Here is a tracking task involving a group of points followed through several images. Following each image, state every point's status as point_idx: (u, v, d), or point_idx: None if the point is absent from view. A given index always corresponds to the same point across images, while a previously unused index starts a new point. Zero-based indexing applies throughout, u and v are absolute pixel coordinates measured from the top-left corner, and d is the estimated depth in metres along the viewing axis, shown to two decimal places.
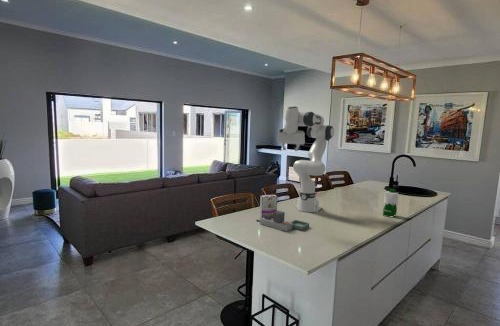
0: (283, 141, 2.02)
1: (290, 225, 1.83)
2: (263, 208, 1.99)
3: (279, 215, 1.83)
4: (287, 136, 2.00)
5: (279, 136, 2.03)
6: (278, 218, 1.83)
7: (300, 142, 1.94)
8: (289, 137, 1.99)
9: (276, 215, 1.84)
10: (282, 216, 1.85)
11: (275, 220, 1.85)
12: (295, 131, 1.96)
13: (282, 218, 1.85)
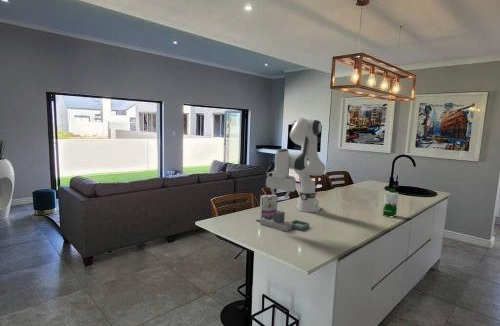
0: (272, 186, 1.85)
1: (290, 225, 1.83)
2: (263, 208, 1.99)
3: (279, 215, 1.83)
4: (277, 181, 1.83)
5: (268, 180, 1.87)
6: (278, 218, 1.83)
7: (290, 189, 1.77)
8: (279, 182, 1.82)
9: (276, 215, 1.84)
10: (282, 216, 1.85)
11: (275, 220, 1.85)
12: (285, 176, 1.79)
13: (282, 218, 1.85)
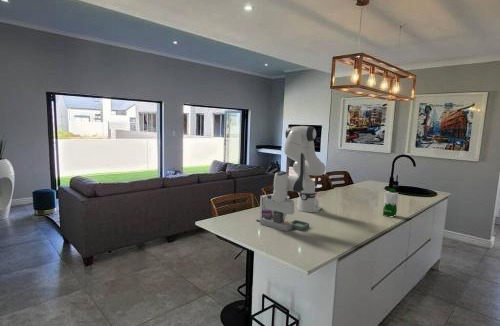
0: (271, 208, 1.87)
1: (290, 225, 1.83)
2: (263, 208, 1.99)
3: (279, 215, 1.83)
4: (276, 203, 1.85)
5: (267, 202, 1.88)
6: (278, 218, 1.83)
7: (289, 212, 1.79)
8: (278, 205, 1.84)
9: (276, 215, 1.84)
10: (282, 216, 1.85)
11: (275, 220, 1.85)
12: (284, 199, 1.81)
13: None
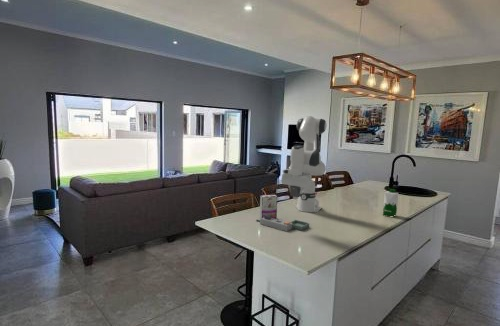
0: (288, 183, 1.86)
1: (290, 225, 1.83)
2: (263, 208, 1.99)
3: (296, 189, 1.82)
4: (292, 178, 1.84)
5: (284, 177, 1.88)
6: (295, 192, 1.83)
7: (307, 186, 1.78)
8: (294, 179, 1.83)
9: (293, 189, 1.84)
10: (299, 190, 1.84)
11: (292, 194, 1.84)
12: (301, 173, 1.80)
13: None
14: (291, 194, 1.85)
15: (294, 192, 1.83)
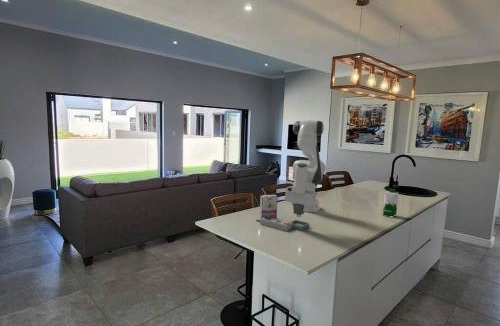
0: (291, 200, 1.87)
1: (290, 225, 1.83)
2: (263, 208, 1.99)
3: (299, 207, 1.83)
4: (296, 195, 1.85)
5: (287, 194, 1.89)
6: (298, 210, 1.84)
7: (310, 204, 1.79)
8: (298, 197, 1.84)
9: (296, 207, 1.84)
10: (302, 208, 1.85)
11: (295, 212, 1.85)
12: (305, 191, 1.82)
13: None
14: (294, 212, 1.86)
15: (298, 210, 1.84)
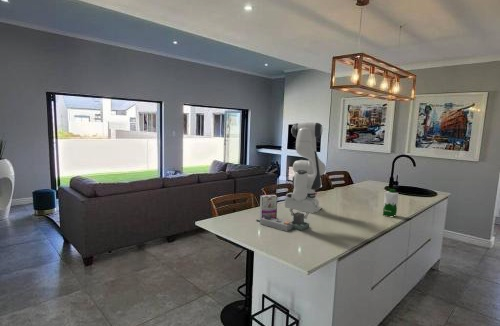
0: (291, 206, 1.88)
1: (290, 225, 1.83)
2: (263, 208, 1.99)
3: (299, 217, 1.84)
4: (296, 202, 1.86)
5: (287, 201, 1.89)
6: (298, 220, 1.85)
7: (310, 210, 1.80)
8: (298, 203, 1.85)
9: (296, 217, 1.85)
10: (302, 218, 1.86)
11: (295, 222, 1.86)
12: (304, 198, 1.82)
13: (302, 220, 1.86)
14: (294, 221, 1.87)
15: (297, 219, 1.85)
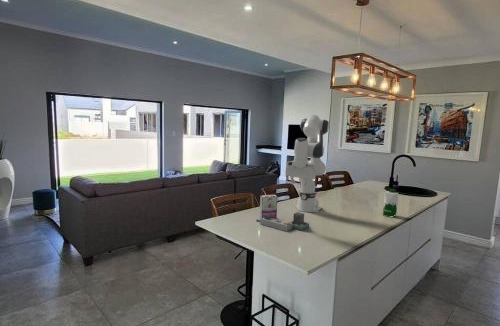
0: (292, 174, 1.91)
1: (290, 225, 1.83)
2: (263, 208, 1.99)
3: (299, 217, 1.84)
4: (296, 169, 1.88)
5: (288, 169, 1.92)
6: (298, 220, 1.85)
7: (310, 177, 1.83)
8: (298, 171, 1.88)
9: (296, 217, 1.85)
10: (302, 218, 1.86)
11: (295, 222, 1.86)
12: (305, 165, 1.85)
13: (302, 220, 1.86)
14: (294, 221, 1.87)
15: (297, 219, 1.85)
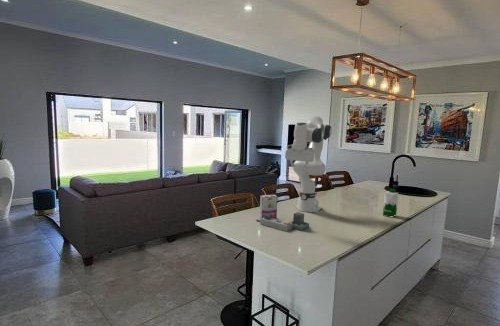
0: (291, 158, 1.97)
1: (290, 225, 1.83)
2: (263, 208, 1.99)
3: (299, 217, 1.84)
4: (296, 153, 1.95)
5: (287, 152, 1.99)
6: (298, 220, 1.85)
7: (309, 159, 1.89)
8: (298, 154, 1.94)
9: (296, 217, 1.85)
10: (302, 218, 1.86)
11: (295, 222, 1.86)
12: (304, 148, 1.91)
13: (302, 220, 1.86)
14: (294, 221, 1.87)
15: (297, 219, 1.85)
